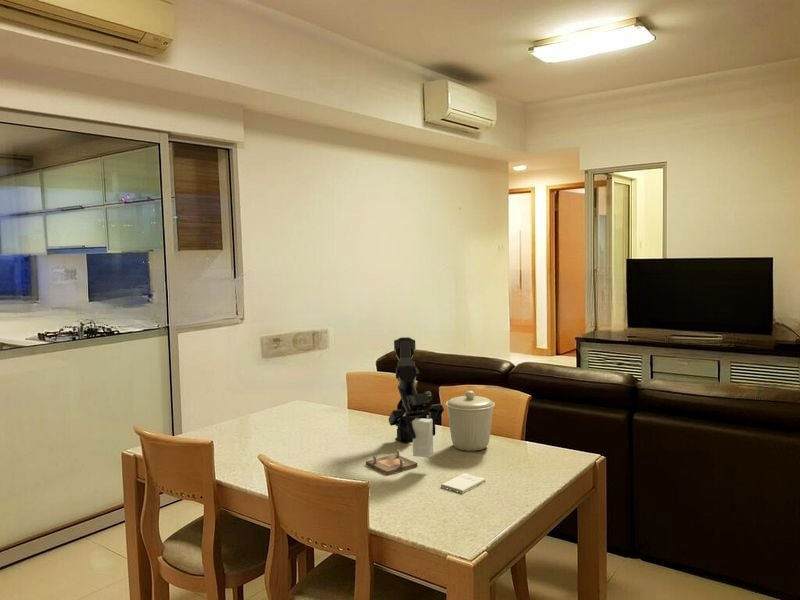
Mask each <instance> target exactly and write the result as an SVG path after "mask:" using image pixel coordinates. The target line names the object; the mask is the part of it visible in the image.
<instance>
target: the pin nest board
mask: <svg viewBox="0 0 800 600" xmlns="http://www.w3.org/2000/svg"><path fill="white" fill-rule="evenodd" d="M365 465H366V466H367V467H369V468H372V469H374V470H376V471H378V472H380V473H382V474H384V475H385V476H389V474H390V475H392V474H396V472H397V473H399V472H403V470H404V471H406V470H409V469H413V468H417V467H418V462H417V461H415V460H414V461H413V460H411V459H408V458H406V457H404V456H402V455H400V449H396V453H393V454H389V455H385V456H382V457H381V456H380V457H378V458H377V455H373V457H372V459H370V460H366V461H365Z"/></svg>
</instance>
